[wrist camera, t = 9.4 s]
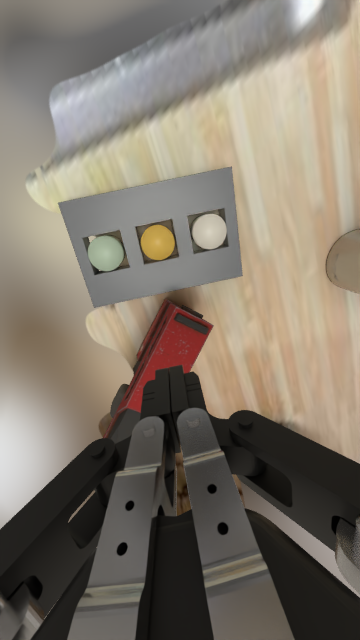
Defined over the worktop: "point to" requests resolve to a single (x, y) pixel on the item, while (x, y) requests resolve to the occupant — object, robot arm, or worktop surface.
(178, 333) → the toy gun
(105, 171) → the worktop surface
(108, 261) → the button sage
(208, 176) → the panel
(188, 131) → the worktop surface
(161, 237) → the button amber
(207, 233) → the button ivory
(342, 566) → the robot arm
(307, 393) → the worktop surface
